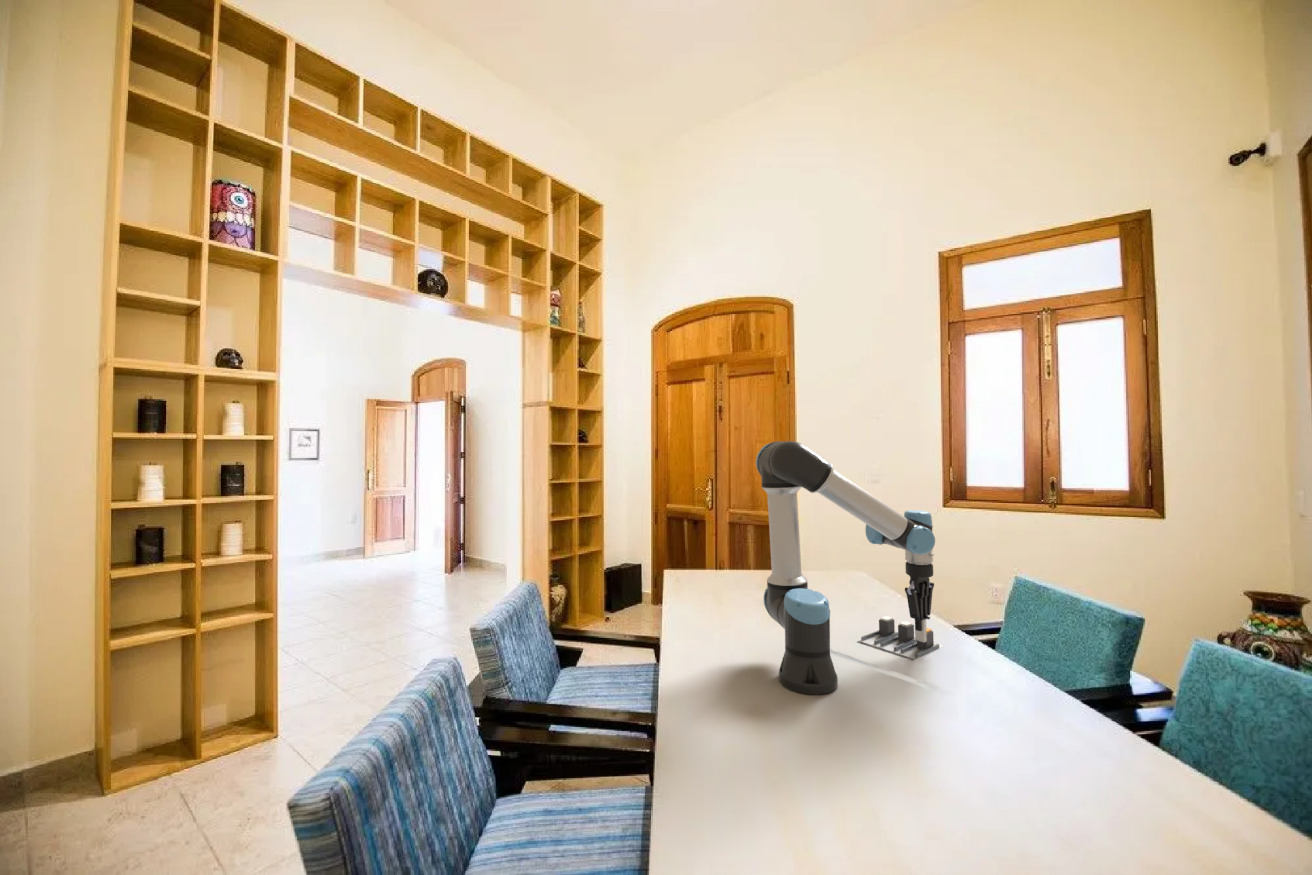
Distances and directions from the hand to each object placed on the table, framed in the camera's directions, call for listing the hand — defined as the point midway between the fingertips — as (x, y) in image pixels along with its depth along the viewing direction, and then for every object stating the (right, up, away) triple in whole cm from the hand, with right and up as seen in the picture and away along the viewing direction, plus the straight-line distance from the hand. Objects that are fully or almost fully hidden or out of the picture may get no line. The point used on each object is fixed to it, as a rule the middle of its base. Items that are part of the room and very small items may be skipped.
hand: (920, 640), depth 159 cm
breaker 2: (-1, -3, +7) cm, 8 cm away
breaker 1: (-5, -3, +13) cm, 14 cm away
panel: (-4, -4, +5) cm, 8 cm away
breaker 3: (+2, -3, +2) cm, 4 cm away
